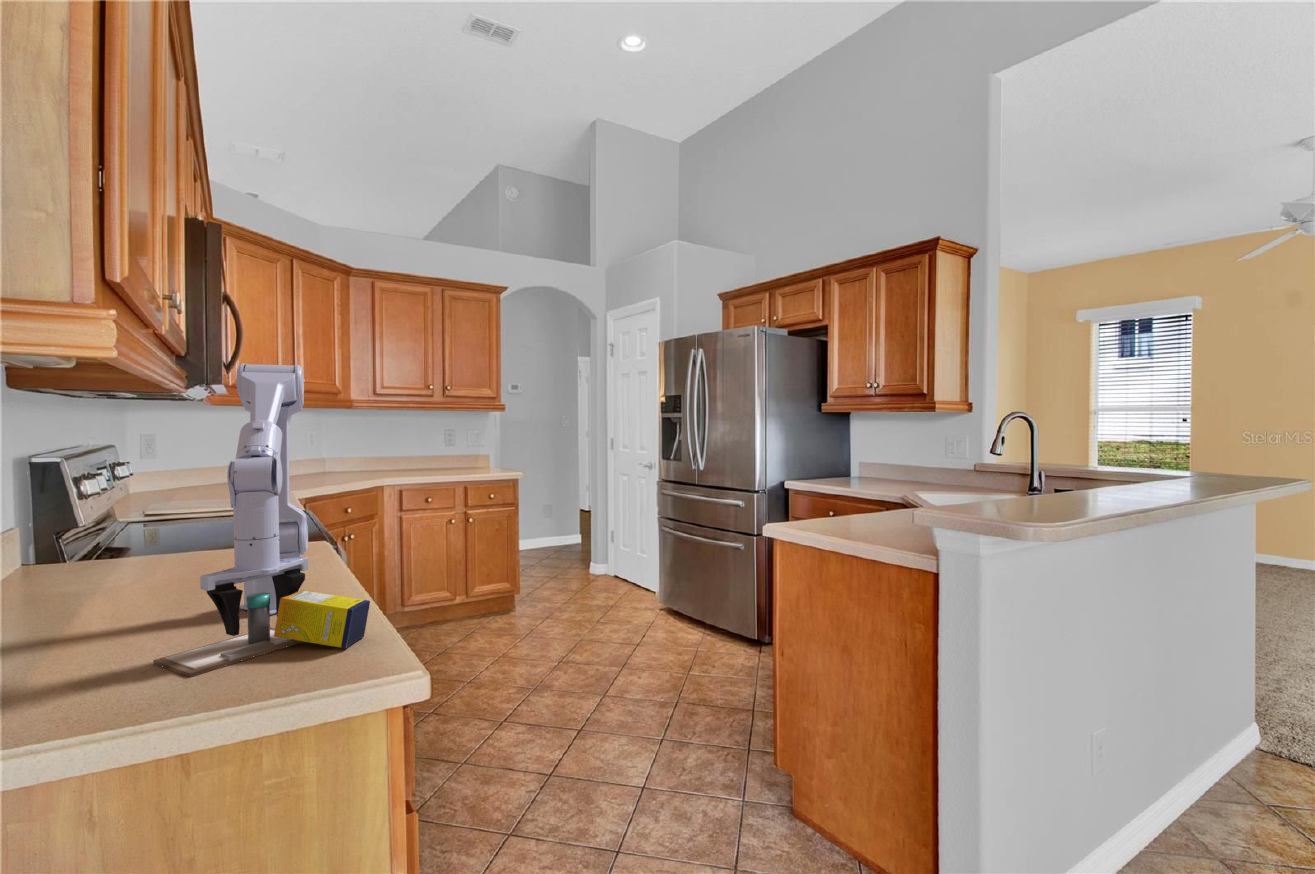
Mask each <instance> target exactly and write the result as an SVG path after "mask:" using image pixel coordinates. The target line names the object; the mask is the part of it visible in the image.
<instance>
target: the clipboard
mask: <svg viewBox="0 0 1315 874" xmlns="http://www.w3.org/2000/svg"><path fill="white" fill-rule="evenodd" d="M274 632H275V628H274V627H271V626H270V641H269V642H268V641H261V642H258V643H254V644H251V645H249V644H248V633H245V634H242V635H237V636H233V637H230V638H227V639H224V640H220V641H217V642H214V643H209V644H206V645H203V646H199V647H194V648H192V649H189V650H185V651H181V652H177V653H173V654H171V655H167V656H166V655H165V656H164V657H160V658H156V659H153V660H152V661H153V662H152V663H153V665H156V666H158V665H160V666H159V667H161V666H163V667H162V668H164V669H166V670H169V671H171V672H174V671H175V673H178V674H180V675H182V674H183V676H185V677H187V678H192V677H195V676H199V675H202V674H205V673H208V672H211V671H210V670H212V671H215V670H218V669H221V668H223V667H222V666H224V667H226V666H225V665H228V666H231V665H234V664H236V662H237V663H240V662H242V661H241V660H244V661H246V659H247V660H250V659H252V658H251V657H253V656H256V657H259V655H260V656H262V655H261V654H263V655H265V654H264V653H266V654H268V653H267V652H269V653H271V652H270V651H272V652H276V651H278V650H277V649H279V650H281V649H280V648H282V649H284V648H283V647H285V648H287V647H286V646H288V647H291V645H292V646H294V644H295V645H297V643H298V644H301V643H304V641H298V640H292V639H286V638H280V637H274ZM300 642H301V643H300ZM275 650H276V651H275ZM249 658H250V659H249ZM253 658H254V657H253ZM239 661H240V662H239ZM233 663H234V664H233ZM220 667H221V668H220ZM217 668H218V669H217ZM214 669H215V670H214Z"/></svg>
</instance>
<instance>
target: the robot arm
mask: <svg viewBox="0 0 1315 874" xmlns="http://www.w3.org/2000/svg"><path fill="white" fill-rule="evenodd" d="M235 375H236V382H235V383H236V390H237V395H238V396H239V398H240V401H241V404H242V406H243V407H244V410H245V411H246V412H249V413H250V414H249V416H250V417H249V418H250V419H249V422H246V423H245V424H244V425H243V426H242V427H241V429H240V431H239V436H238V442H237V449H236V454H235V460H234V461H232V460H230V461H229V463H228V466H227V472H226V473H227V477H226V478H227V488H228V491H229V497H230V508H231V509H233V549H234V550H233V551H234V567H230V568H227V569H223V570H219V571H216V572H212V573H207V574H202V575H200V576H199V578H200V579H199V581H200V582H199V583H200V590H203V591H206V594H207V595H208V596H209V598H210V599H211V601H212V602H213V604H214V605H215V608H217V612H218V613H219V615H220V617H221V620H222V622H223V626H224V631H225V634H226V635H228V636H231V637H237V636H240V626H241V625H240V624H241V623H240V610H245V611H247V603H246V597H247V596H248V595H251V594H256V593H270V605H269V607H270V616H271V615H276V617H277V616H278V609H279V604H280V599H281V598H283V597H286V596H289V595H291V594H294V593H296V592H298V591H300V590H301V588H302V585H303V583H304V582H305V580H306V573H305V572H303V571H307V570H309V568H310V567H309V557H305V556H301V555H305V553H306V552H307V551H308V548H309V547H308V545H309V530H308V529H309V527H308V521H307V520H308V519H307V518H308V516H307V515H306V513H305V511H303V510H302V509H301V508H298V507H297V506H296V505H294V504H292V503H291V502H290V423H291V420H292V417H293V415H294V414H297V413H300V412H302V411H303V406H304V404H305V403H304V402H305V401H304V400H305V398H304V393H305V377H304V369H303V367H302V366H301V365H300V364H295V365H285V364H283V365H282V364H253V363H252V364H250V363H244V362H243V363H241V364H240V365H238V366H237V369H236V374H235ZM281 520H293V521H282V522H280V521H281ZM241 583H243V590H242V589H239V588H237V586H236V584H241ZM242 597H243V601H244V603H243V604H241V602H242V601H241V600H242Z"/></svg>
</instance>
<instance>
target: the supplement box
mask: <svg viewBox="0 0 1315 874" xmlns="http://www.w3.org/2000/svg"><path fill="white" fill-rule="evenodd" d="M370 603H371V601H370V600H367V599H362V598H355V597H349V596H342V595H336V594H331V593H324V592H320V591H319V592H318V591H313V590H306V589H300V591H298V592H296V593H294V594H291V595H289V596H286V597H283V598H281V599H280V604H279V609H278V616H277V615H276V622H275V632H274V637H280V638H286V639H292V640H298V641H304V642H305V643H311V644H318V645H323V646H328V647H334V648H341V649H347V648H349V647H350V646H352V645H353V644H354V643H356V642H357V641H359V640H360V639H363V638H364V637H365V634H366V628H367V621H368V617H369V609H370V605H371V604H370ZM304 642H303V643H304Z"/></svg>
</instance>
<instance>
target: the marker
mask: <svg viewBox="0 0 1315 874" xmlns="http://www.w3.org/2000/svg"><path fill="white" fill-rule="evenodd" d="M246 603H247V610H246V611H247V634H248V644H249V645H251V644H254V643H258V642H261V641H268V642H269V641H270V627H271V618H270V616H271V615H270V607H269V605H270V593H256V594H251V595H248V596H247V597H246Z"/></svg>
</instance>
